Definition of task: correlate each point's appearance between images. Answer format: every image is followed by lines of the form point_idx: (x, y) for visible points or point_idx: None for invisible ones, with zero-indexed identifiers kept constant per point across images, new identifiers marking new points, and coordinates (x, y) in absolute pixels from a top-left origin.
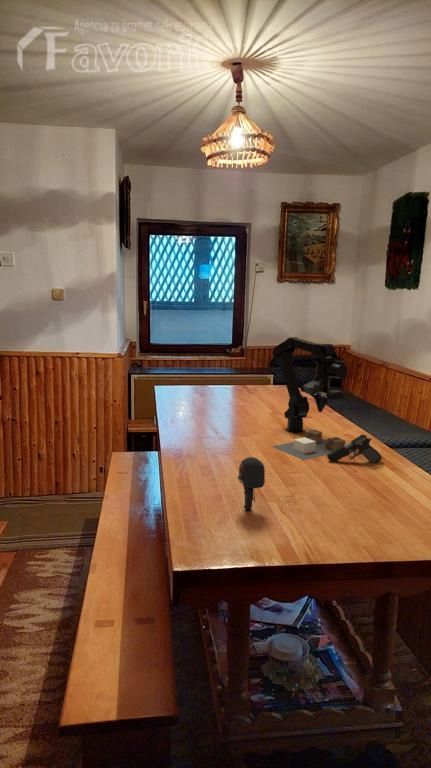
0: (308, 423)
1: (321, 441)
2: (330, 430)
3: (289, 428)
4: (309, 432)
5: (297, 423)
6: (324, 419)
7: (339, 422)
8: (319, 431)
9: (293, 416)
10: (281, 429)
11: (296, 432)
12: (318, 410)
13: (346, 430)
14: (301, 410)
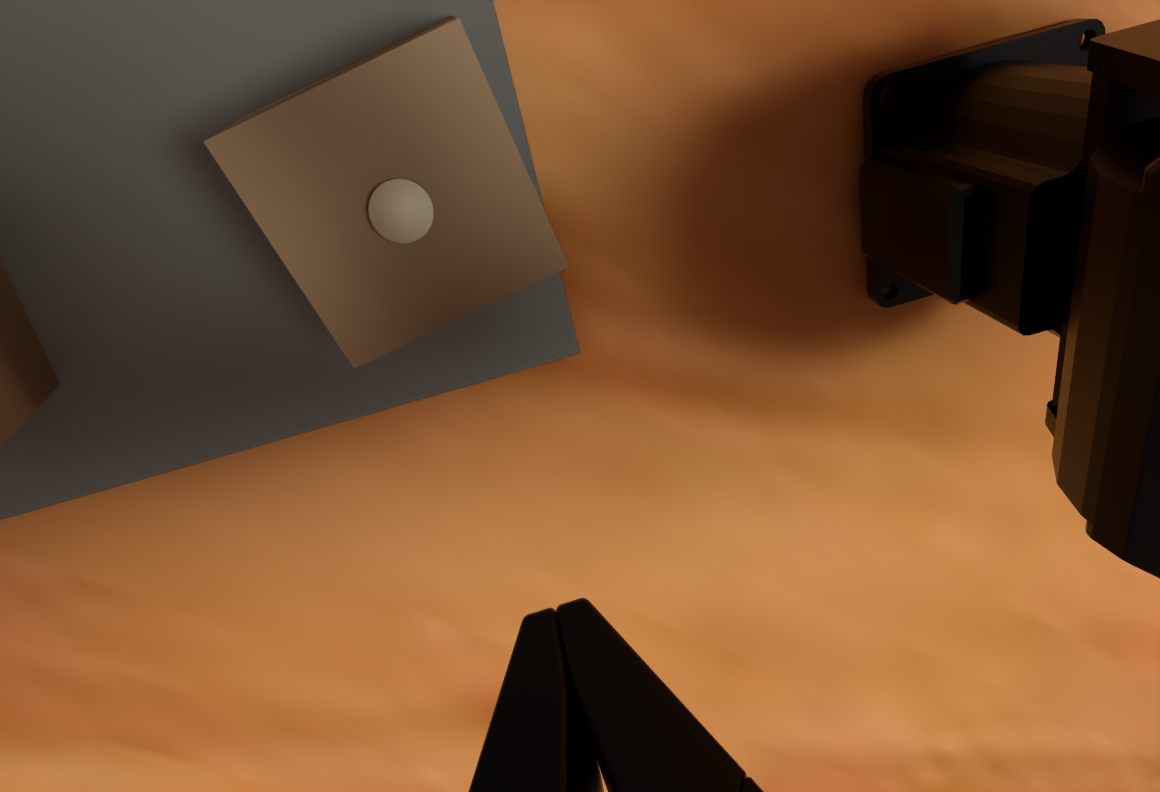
0: None
1: None
2: (787, 620)
3: (1029, 63)
4: (351, 76)
5: (976, 173)
6: (1099, 702)
7: (954, 779)
8: (389, 332)
9: (1133, 58)
10: (1150, 5)
11: (873, 132)
12: (587, 621)
13: None
14: (1145, 299)
